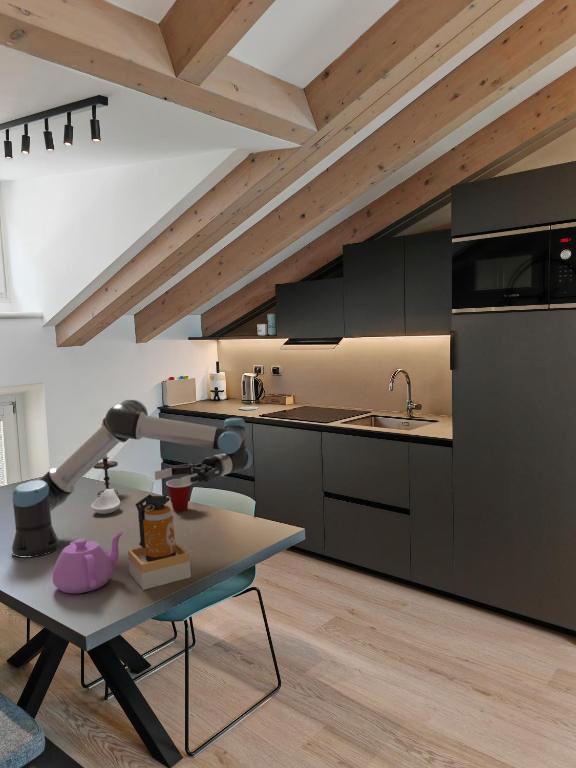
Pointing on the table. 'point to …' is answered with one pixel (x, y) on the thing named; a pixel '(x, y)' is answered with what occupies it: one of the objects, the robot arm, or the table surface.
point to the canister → (156, 528)
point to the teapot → (85, 566)
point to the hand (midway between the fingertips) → (168, 478)
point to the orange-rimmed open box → (158, 567)
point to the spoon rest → (106, 502)
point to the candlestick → (105, 466)
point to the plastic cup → (178, 494)
